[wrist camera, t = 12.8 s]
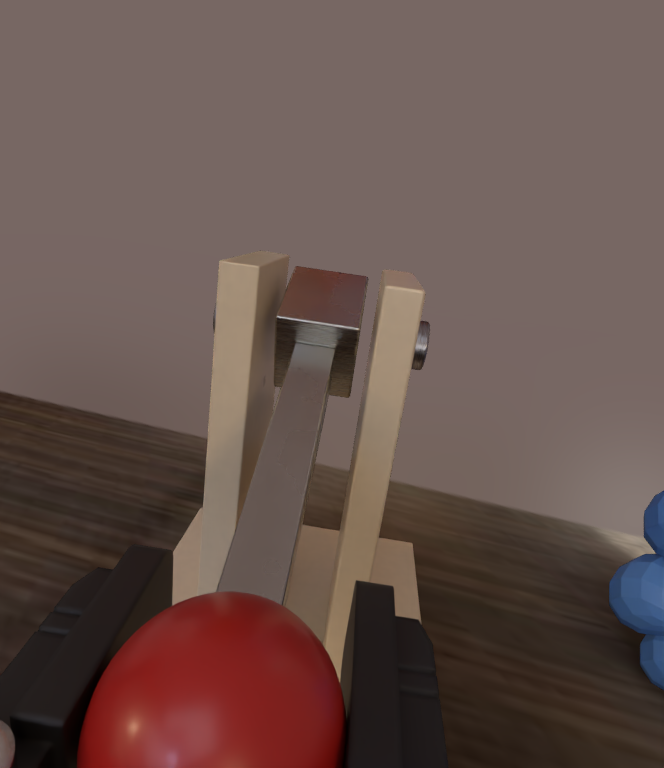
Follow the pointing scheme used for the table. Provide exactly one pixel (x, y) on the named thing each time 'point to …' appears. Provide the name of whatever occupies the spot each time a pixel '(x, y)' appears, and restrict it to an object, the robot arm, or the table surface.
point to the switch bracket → (248, 430)
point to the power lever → (246, 593)
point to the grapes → (645, 594)
